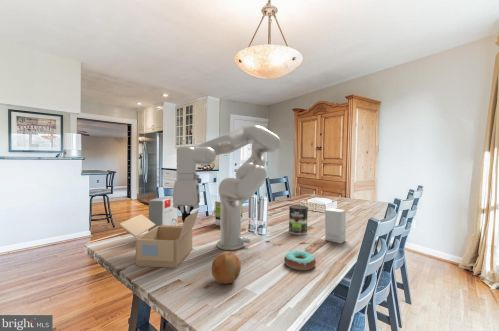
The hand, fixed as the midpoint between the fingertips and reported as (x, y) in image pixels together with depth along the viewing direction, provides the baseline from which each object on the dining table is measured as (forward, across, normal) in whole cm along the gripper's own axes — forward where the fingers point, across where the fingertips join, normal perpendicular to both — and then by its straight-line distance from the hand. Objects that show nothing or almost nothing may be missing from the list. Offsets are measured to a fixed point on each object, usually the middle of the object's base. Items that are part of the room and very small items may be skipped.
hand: (186, 222), depth 99 cm
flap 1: (+4, +17, 0) cm, 17 cm away
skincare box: (+15, -66, -30) cm, 74 cm away
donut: (+15, -46, 0) cm, 48 cm away
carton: (+15, +8, 0) cm, 17 cm away
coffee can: (+15, -49, -42) cm, 66 cm away
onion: (+15, -20, +17) cm, 30 cm away
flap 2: (+4, 0, 0) cm, 4 cm away
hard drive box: (+15, +21, -24) cm, 35 cm away
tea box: (+15, -8, -53) cm, 56 cm away
